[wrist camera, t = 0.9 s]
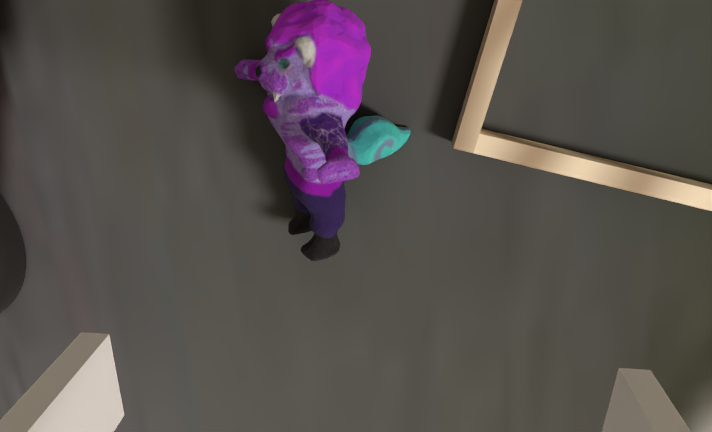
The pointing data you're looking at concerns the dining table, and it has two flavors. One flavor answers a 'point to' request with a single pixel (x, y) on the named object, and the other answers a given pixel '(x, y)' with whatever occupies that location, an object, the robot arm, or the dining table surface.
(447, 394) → the dining table surface
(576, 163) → the pocket frame
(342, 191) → the toy
